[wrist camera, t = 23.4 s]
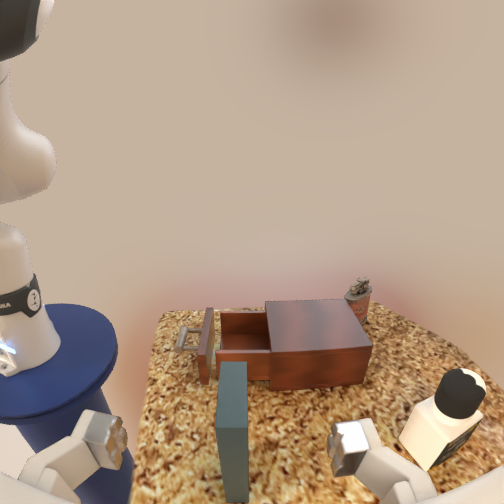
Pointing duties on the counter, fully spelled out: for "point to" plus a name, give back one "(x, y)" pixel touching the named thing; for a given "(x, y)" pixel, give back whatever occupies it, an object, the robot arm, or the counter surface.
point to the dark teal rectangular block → (233, 430)
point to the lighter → (359, 298)
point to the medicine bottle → (444, 419)
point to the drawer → (232, 343)
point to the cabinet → (315, 345)
